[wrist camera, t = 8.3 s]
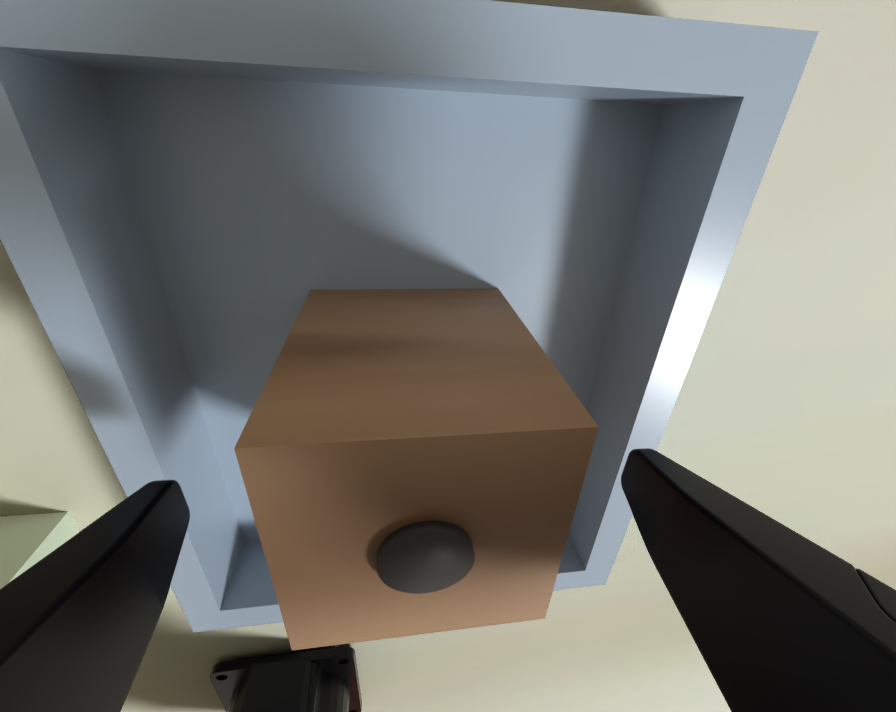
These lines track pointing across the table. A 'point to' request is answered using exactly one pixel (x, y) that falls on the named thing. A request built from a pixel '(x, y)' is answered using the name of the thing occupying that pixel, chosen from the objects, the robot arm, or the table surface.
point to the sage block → (31, 540)
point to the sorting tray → (369, 213)
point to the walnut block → (412, 466)
